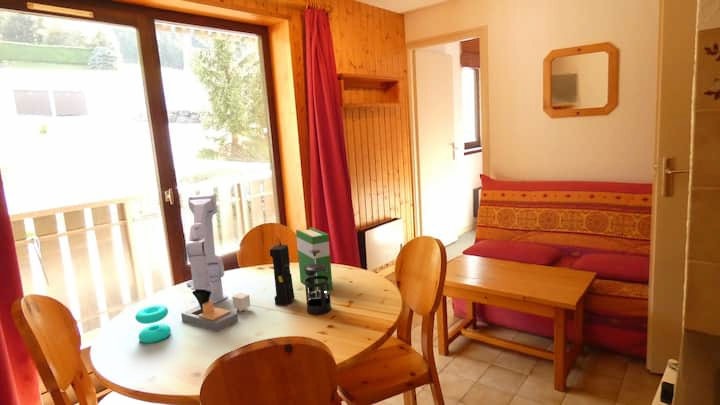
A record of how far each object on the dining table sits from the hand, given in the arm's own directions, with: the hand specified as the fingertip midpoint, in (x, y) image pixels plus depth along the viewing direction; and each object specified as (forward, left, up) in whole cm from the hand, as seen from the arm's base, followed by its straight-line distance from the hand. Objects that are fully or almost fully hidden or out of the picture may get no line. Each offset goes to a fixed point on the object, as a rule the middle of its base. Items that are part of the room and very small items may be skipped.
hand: (204, 308), depth 157 cm
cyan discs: (-5, -17, -5) cm, 18 cm away
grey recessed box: (+2, 0, -5) cm, 5 cm away
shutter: (+5, 0, -1) cm, 5 cm away
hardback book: (+16, +45, -5) cm, 48 cm away
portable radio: (+16, +25, -5) cm, 30 cm away
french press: (+33, +25, -5) cm, 42 cm away
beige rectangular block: (+6, +12, -5) cm, 14 cm away
